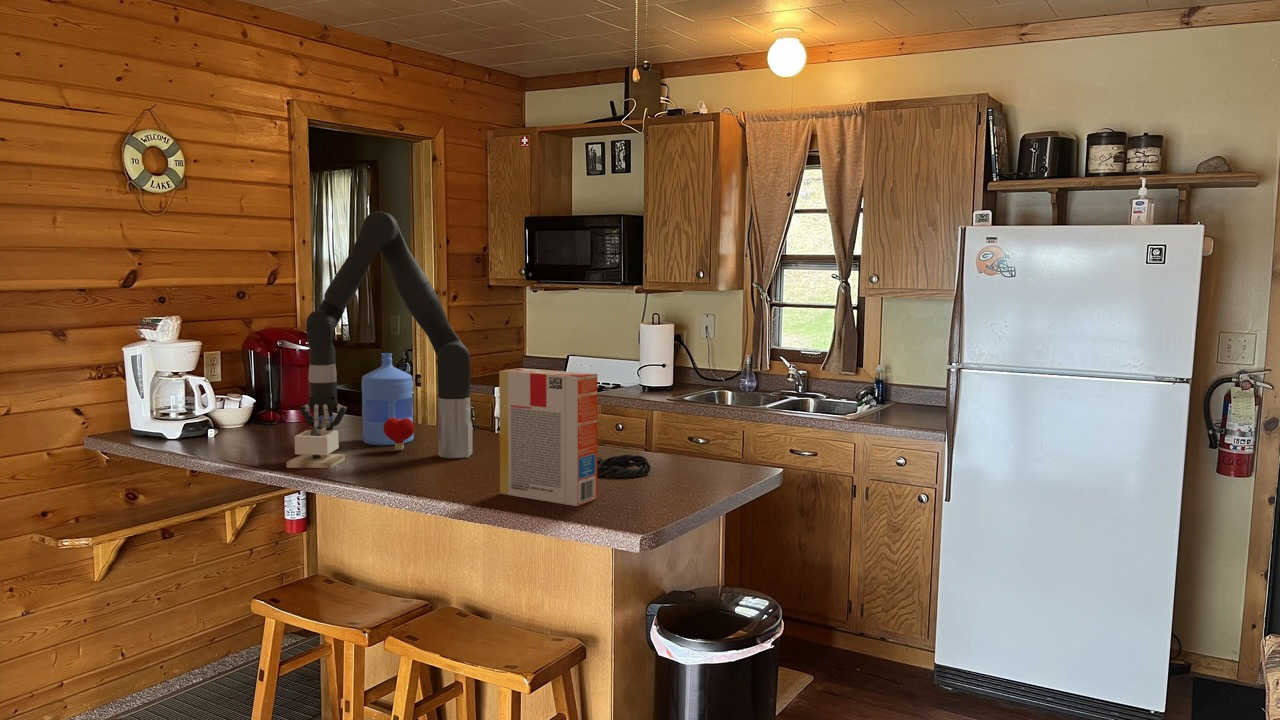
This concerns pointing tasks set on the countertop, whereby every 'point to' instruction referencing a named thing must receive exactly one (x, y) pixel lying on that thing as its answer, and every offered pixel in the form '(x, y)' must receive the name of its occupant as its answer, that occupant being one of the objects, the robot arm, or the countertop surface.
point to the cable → (622, 466)
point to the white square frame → (316, 442)
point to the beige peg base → (315, 458)
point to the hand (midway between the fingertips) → (324, 440)
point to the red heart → (399, 431)
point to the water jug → (385, 400)
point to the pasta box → (548, 435)
